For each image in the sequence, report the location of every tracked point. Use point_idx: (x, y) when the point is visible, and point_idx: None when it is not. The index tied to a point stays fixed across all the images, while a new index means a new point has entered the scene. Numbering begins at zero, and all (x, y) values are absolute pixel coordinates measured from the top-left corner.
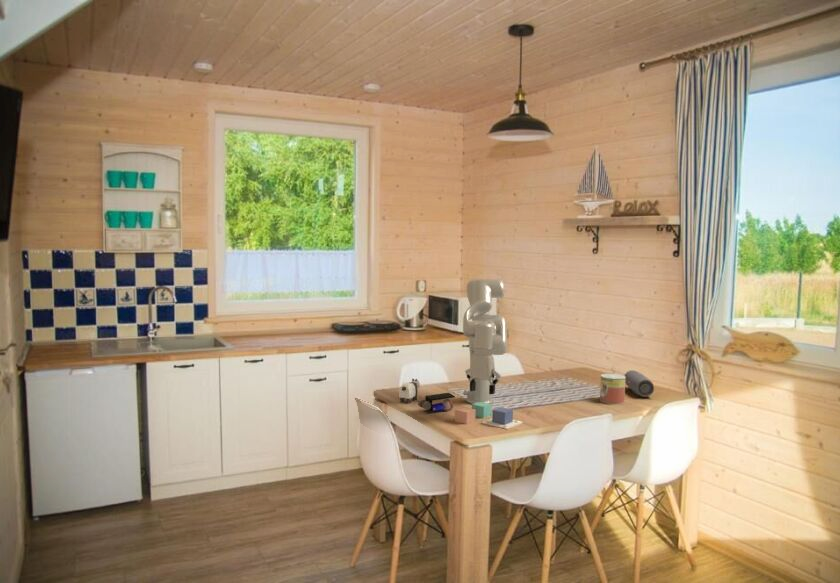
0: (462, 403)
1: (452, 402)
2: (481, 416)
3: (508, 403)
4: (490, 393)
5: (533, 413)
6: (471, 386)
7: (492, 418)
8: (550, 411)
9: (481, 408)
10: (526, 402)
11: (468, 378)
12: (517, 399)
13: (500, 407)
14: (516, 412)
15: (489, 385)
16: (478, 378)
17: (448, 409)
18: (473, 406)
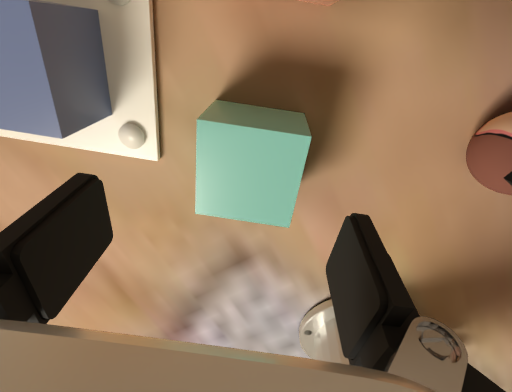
0: (425, 287)
1: (491, 174)
2: (229, 103)
3: (246, 347)
4: (75, 178)
5: (96, 285)
6: (365, 252)
7: (80, 8)
8: (77, 324)
9: (221, 118)
10: None
11: (488, 386)
12: None
13: (57, 132)
14: (152, 270)
15: (18, 250)
16: (179, 353)
17: (490, 120)
18: (295, 129)
